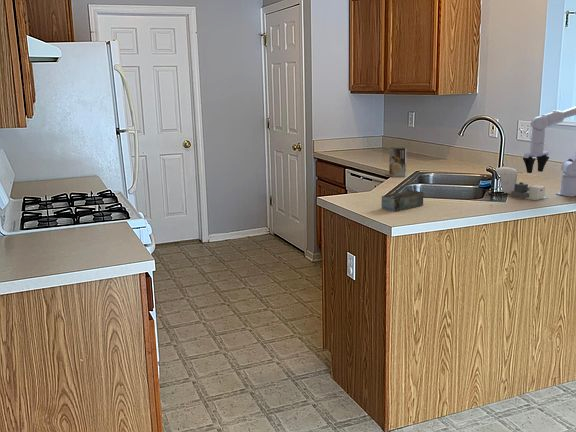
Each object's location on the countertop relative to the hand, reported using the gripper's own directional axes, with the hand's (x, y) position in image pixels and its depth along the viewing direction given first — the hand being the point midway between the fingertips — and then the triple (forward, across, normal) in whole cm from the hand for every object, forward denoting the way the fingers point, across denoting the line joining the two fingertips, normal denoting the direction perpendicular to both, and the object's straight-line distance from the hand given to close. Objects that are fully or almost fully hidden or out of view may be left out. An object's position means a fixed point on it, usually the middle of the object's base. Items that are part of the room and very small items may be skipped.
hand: (534, 172), depth 267 cm
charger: (+10, +7, +7) cm, 14 cm away
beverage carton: (+11, +70, -10) cm, 72 cm away
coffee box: (+11, +19, -76) cm, 79 cm away
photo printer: (+11, +9, -9) cm, 17 cm away
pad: (+10, +7, +8) cm, 15 cm away
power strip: (+10, +6, +2) cm, 12 cm away
